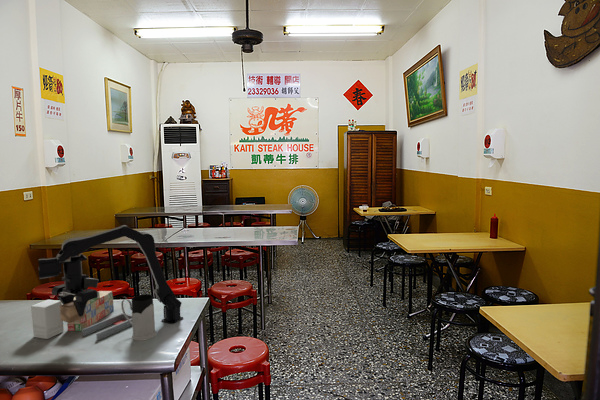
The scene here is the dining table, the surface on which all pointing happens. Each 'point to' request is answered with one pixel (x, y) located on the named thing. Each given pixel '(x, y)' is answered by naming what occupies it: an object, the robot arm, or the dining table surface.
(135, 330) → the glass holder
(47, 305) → the supplement box
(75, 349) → the dining table surface
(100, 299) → the stack of blocks
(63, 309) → the tan cube
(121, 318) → the trap channel
